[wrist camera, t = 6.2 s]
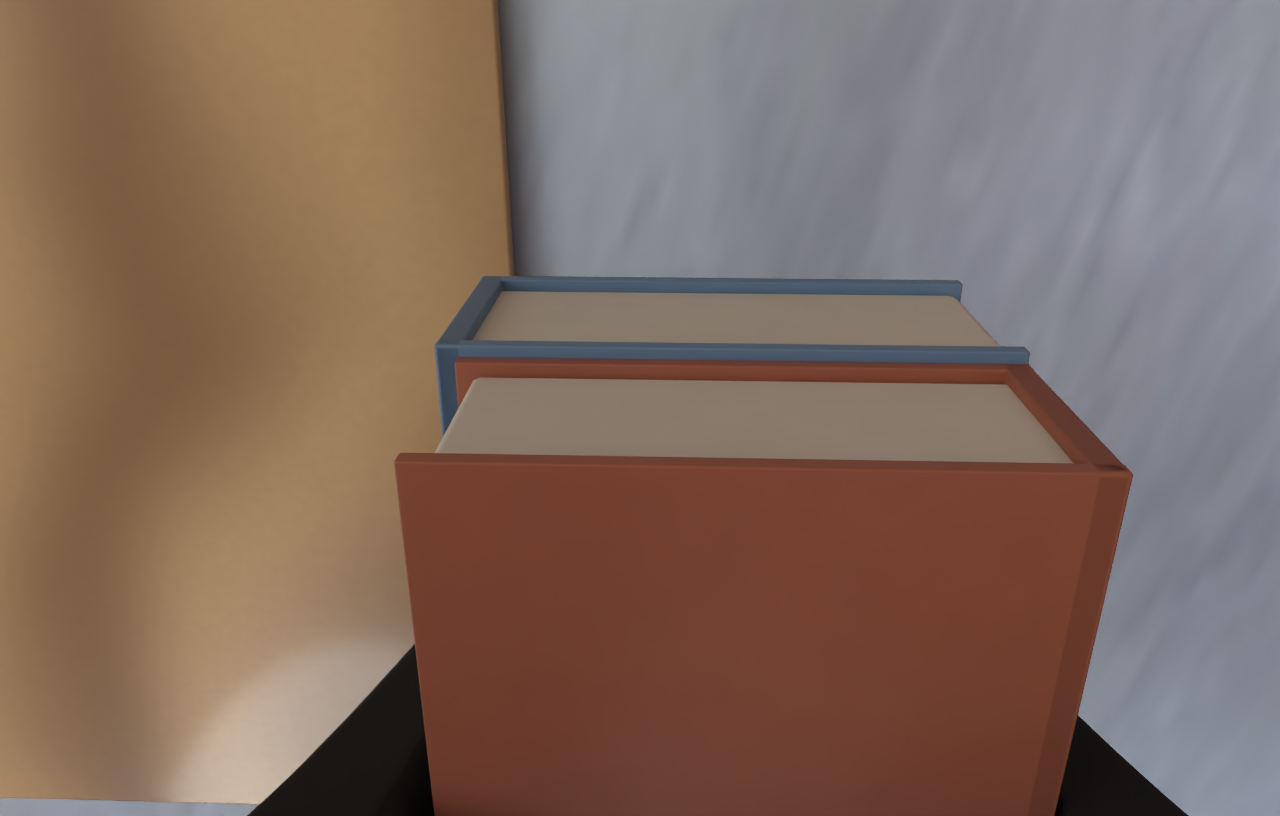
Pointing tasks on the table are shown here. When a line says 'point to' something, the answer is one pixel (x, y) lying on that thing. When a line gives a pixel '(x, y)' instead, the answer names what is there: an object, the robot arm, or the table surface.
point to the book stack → (750, 553)
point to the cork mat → (223, 368)
